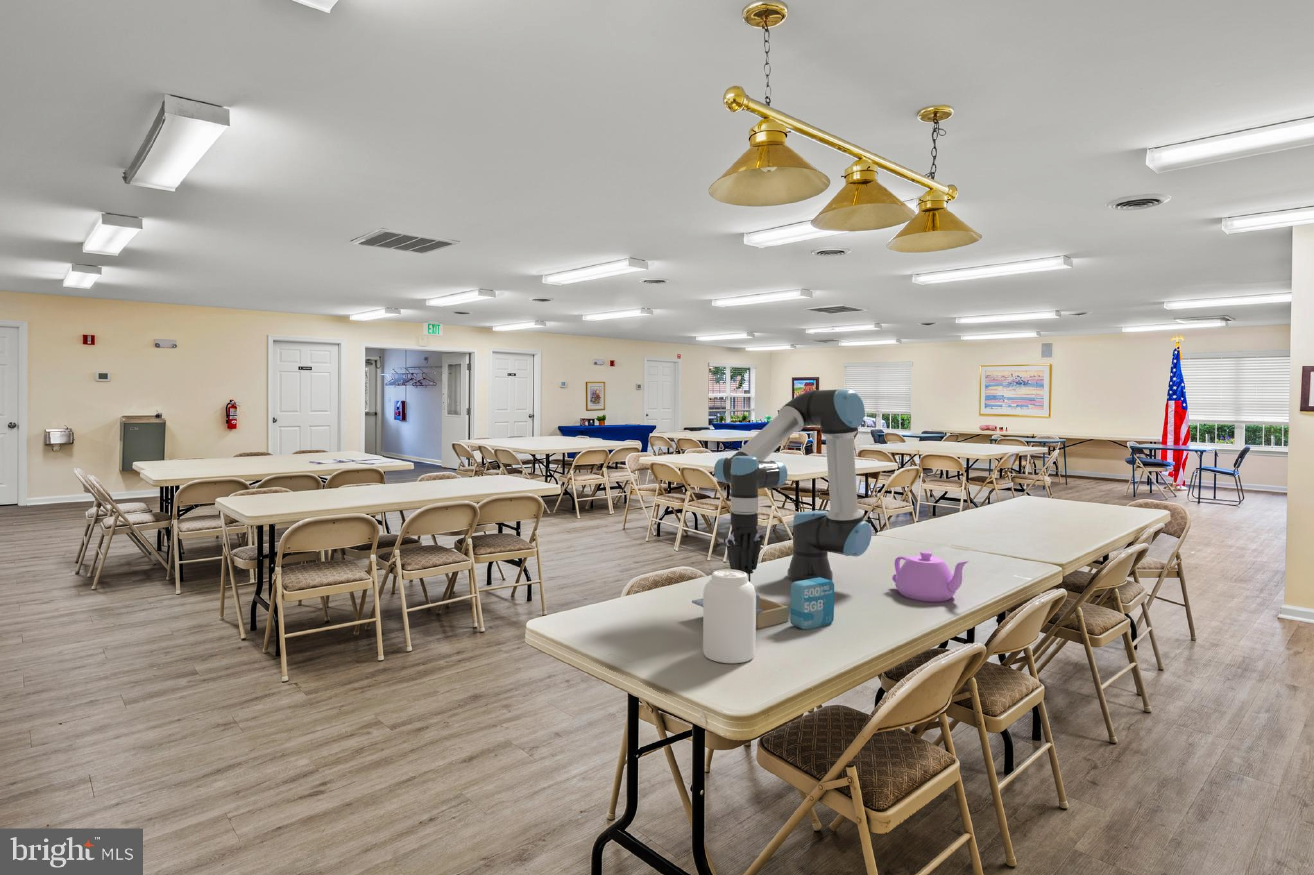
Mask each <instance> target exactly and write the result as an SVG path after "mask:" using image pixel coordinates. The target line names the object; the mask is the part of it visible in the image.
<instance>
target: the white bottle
mask: <svg viewBox="0 0 1314 875" xmlns="http://www.w3.org/2000/svg"><path fill="white" fill-rule="evenodd" d="M702 595H703V596H702V597H703V607H702V608H703V609H702V611H703V613H702V614H703V618H702V620H703V621H702V622H703V623H702V624H703V625H702V627H703V628H702V632H703V633H702V634H703V637H702V638H703V639H702V642H703V643H702V650H703V655H704V656H705V657H706V658H707V659H709V660H711V661H714V662H717V663H723V664H739V663H740V664H742V663H745V662H749V661H751V660H753V658H754V657H755V655H756V644H757V643H756V642H757V640H756V637H757V636H756V634H757V632H756V631H757V630H756V629H757V628H756V595H757V594H756V589H755V586H754V585H753V584H752V582H751V581H750V582H749V581H748V576H747V574H746V573H745V572H743V571H740V570H733V569H731V568H730V569H729V568H727V569H726V568H725V569H718V570H715V571H713V572H712V573H711V579H710V580H709V581H708V582H707V583H706V584H705V585H704V588H703V594H702Z"/></svg>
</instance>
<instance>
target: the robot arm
mask: <svg viewBox="0 0 1314 875" xmlns="http://www.w3.org/2000/svg"><path fill="white" fill-rule="evenodd" d="M863 401H864V400H863V399H862V397H861V396H860V395H859V394H858V393H857V392H856V391H855V390H850V389H820V390H819V389H813V390H812V389H811V390H809V391H806V392H805V391H804V392H803V393H801V394H799V395H797V396H795V397H794V398H792V399H790V401H788V402H787V403H785V404H784V405H783V406H781V408H780V409H779V410H778V412H777V415H776V416H775V417H774V418H773V419H772V420H771V421H770V422H768V424H766V425H765V426H764V427H763V428H762V429H761V430H760V431H759V432H757V433H756V434H755V435H754V436H753V437H752V438H751V439H749V441H747V443H745V444H744V445H743V446H742V447H741V448H740V449H739V450H737V451H736V452H735V453H734V454H732V456H731V457H721V458H719V459H717V461H716V462H715V464H714V467H713V472H714V477H715V479H716V480H717V481H719V482H720V483H726V484H729V485H730V511H732V512H731V513H730V526H731V531H730V535H729V537H727V538H723V544H724V545H725V547H726V552H727V556H728V563H729V566H730V569H733V570H740V571H743V572H745V573H746V574H747V576H748V581H749V582H750V583H751V575H752V574H753V573H754V571H755V570H757V569H758V568H757V567H758V563H759V557H760V551H761V546H762V543H763V541H764V539H765V536H764V534H763V535H762V534H760V533H759V532H758V529H757V526H758V525H759V523H758V522H759V514H758V513H757V512H758V511H759V490H760V489H769V488H774V489H775V488H777V487H781V486H782V485H784V484H785V483H786V481H787V480H788V475H789V474H788V469H787V467H786V465H785V464H784V463H783V462H782V461H779V460H769V461H768V460H767V461H765V460H766V459H767V458H768V457H769V456H771V455H772V454H773V453H774V452H775V451H776V450H777V449H778V448H779V447H780V446H781V445H782V444H784V442H785V441H786V440H788V438H790V437H791V436H792V435H793V434H794V433H798V432H801V431H802V430H803V429H804V428H807V427H810V426H811V427H813V426H817V427H819V430H820V432H819V433H820V434H821V435H822V436H823V437H824V438H825V449H826V463H827V476H828V479H827V480H828V492H829V508H830V510H829V511H827V510H809V511H800V512H796V513H795V514H794V516H793V521H792V522H793V524H792V558H791V560H790V563H789V567H788V569H787V575H786V576H787V578H788V580H790V581H793V582H796V581H802V580H808V579H813V578H819V577H820V578H824V579H827V580H830V581H832V582H833V579H834V578H833V576H834V575H833V574H834V573H833V570H832V569H831V564H830V561H829V560H830V559H829V556H828V554H829V553H832V554H838V555H843V556H845V557H856V558H857V557H860V556H862V555H863V554H864V553H865V552H866V551H867V550H868V548H869V546H870V543H871V540H872V535H873V529H872V527H871V525H870V522H867V521H866V520H864V514H863V512H862V511H861V510H860V509H859V508H858V506H859V505H858V493H857V492H858V491H857V474H856V473H857V472H856V459H855V457H856V455H855V442H854V436H855V435H856V434H857V433H858V431H859V427H860V426H861V425H863V422H864V418H865V415H866V413H865V411H866V409H865V404H864V402H863Z"/></svg>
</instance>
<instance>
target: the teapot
mask: <svg viewBox="0 0 1314 875" xmlns="http://www.w3.org/2000/svg"><path fill="white" fill-rule="evenodd" d="M919 554H920V555H911V556H906V555H899V556H897V557H896V558H895V560H894V570H895V573H893V575H892V581H893V583H895V584H894V586H895V588H896V590H898V592H899V594H900V595H901V596H903V597H905V598H907V599H910V600H915V601H919V602H928V603H932V602H934V603H937V602H938V603H939V602H946V601H949V600H950V599H951V598H953V597H954V596H955V594H956V592H957V590H958V589H960V588H961V586H962V583H963V569H964V566H965V565H966V564H967V563H969V561H968V560H967V561H960V562H958V563H956V565H955V567H954V572H953V573H952V570H951V568H949V565H948V564H947V563H946V562H945V560H944V559H943V558H940V557H936V556H933V552H931V551H926V550H925V551H923V550H922V551H919ZM901 560H904V562H903V564H902V565H900V564H901Z"/></svg>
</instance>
